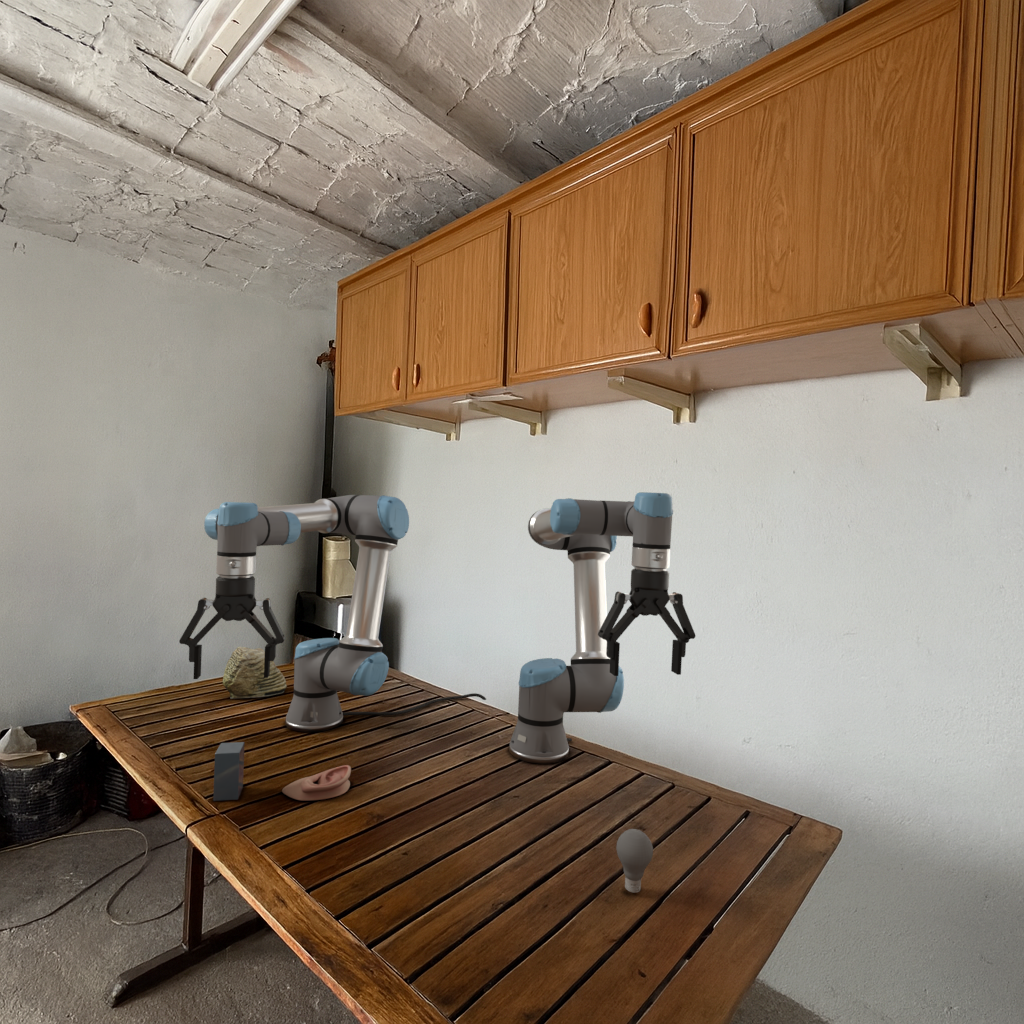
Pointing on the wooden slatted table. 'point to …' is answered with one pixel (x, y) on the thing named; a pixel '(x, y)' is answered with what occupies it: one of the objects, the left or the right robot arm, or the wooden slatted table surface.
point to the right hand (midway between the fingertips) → (645, 673)
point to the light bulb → (634, 857)
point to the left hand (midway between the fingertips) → (232, 676)
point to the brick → (228, 771)
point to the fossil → (251, 675)
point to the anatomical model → (320, 785)
